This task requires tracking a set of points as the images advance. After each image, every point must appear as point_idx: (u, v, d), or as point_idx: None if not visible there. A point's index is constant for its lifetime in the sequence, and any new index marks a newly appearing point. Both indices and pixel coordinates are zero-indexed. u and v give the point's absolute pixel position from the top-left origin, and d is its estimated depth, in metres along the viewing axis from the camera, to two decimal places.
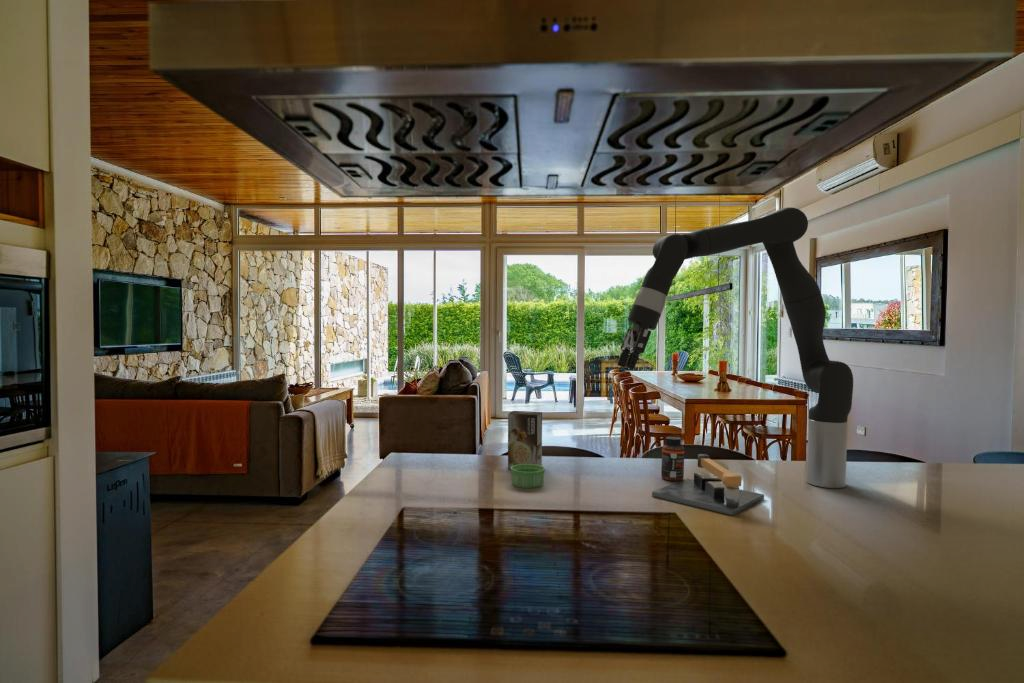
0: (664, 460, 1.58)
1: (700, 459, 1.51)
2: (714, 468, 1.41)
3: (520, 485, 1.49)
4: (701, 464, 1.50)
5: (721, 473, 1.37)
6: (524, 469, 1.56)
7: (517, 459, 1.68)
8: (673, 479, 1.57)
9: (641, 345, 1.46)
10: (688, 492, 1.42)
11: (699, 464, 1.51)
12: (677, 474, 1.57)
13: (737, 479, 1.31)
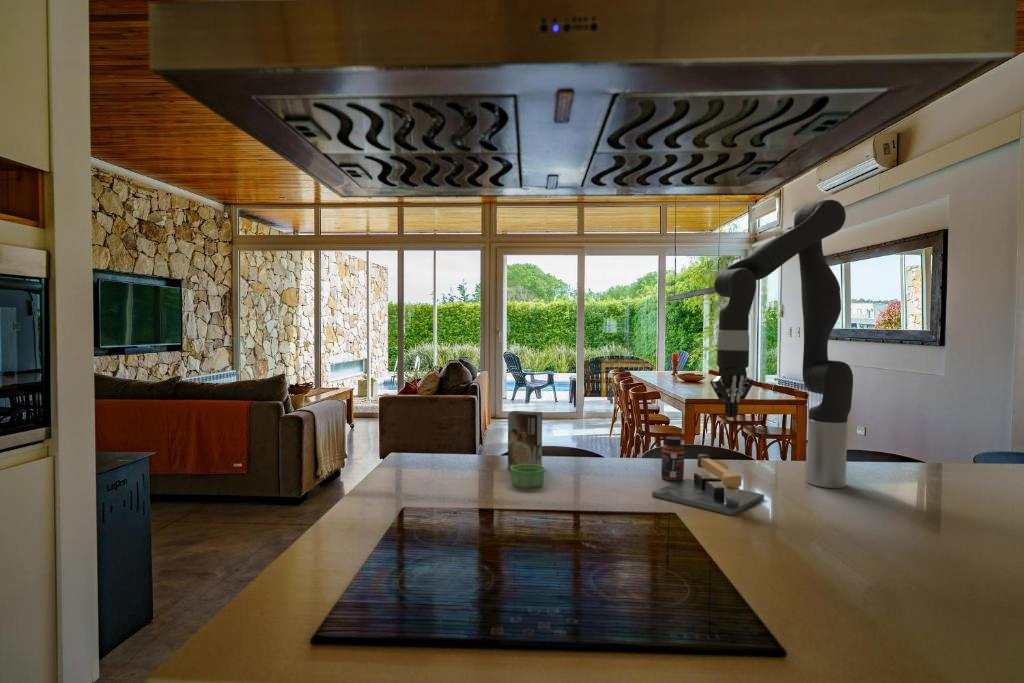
0: (664, 460, 1.58)
1: (700, 459, 1.51)
2: (714, 468, 1.41)
3: (520, 485, 1.49)
4: (701, 464, 1.50)
5: (721, 473, 1.37)
6: (524, 469, 1.56)
7: (517, 459, 1.68)
8: (673, 479, 1.57)
9: (729, 392, 1.46)
10: (688, 492, 1.42)
11: (699, 464, 1.51)
12: (677, 474, 1.57)
13: (737, 479, 1.31)
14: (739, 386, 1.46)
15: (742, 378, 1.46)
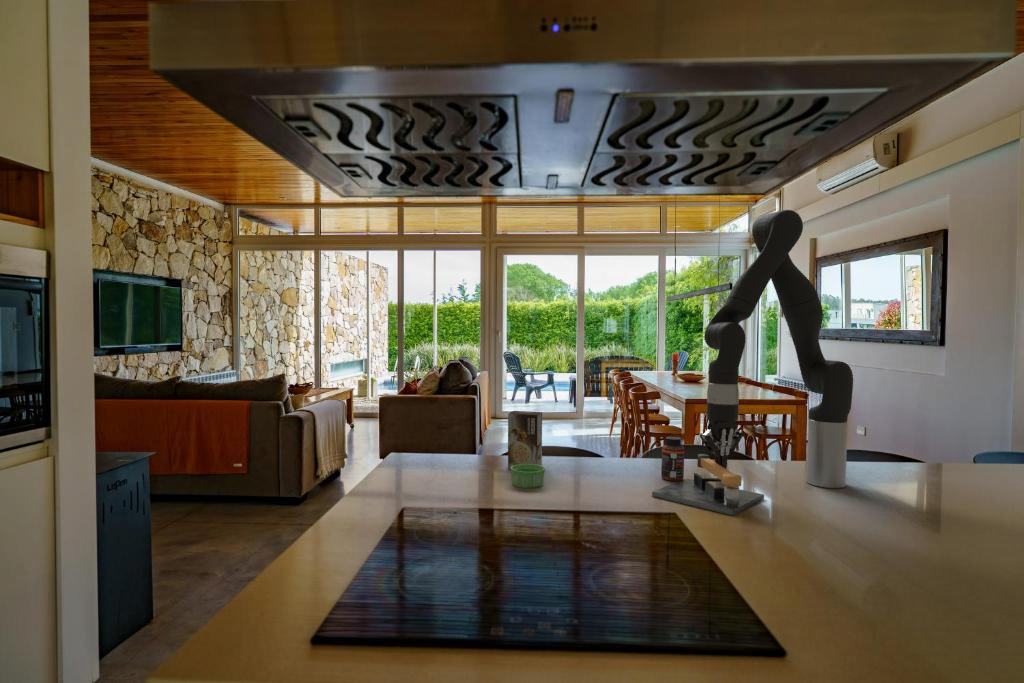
0: (664, 460, 1.58)
1: (700, 459, 1.51)
2: (714, 468, 1.41)
3: (520, 484, 1.49)
4: (701, 464, 1.50)
5: (721, 473, 1.37)
6: (524, 469, 1.56)
7: (517, 459, 1.68)
8: (673, 479, 1.57)
9: (719, 445, 1.46)
10: (688, 492, 1.42)
11: (699, 464, 1.51)
12: (677, 474, 1.57)
13: (737, 479, 1.31)
14: (728, 439, 1.46)
15: (732, 431, 1.46)
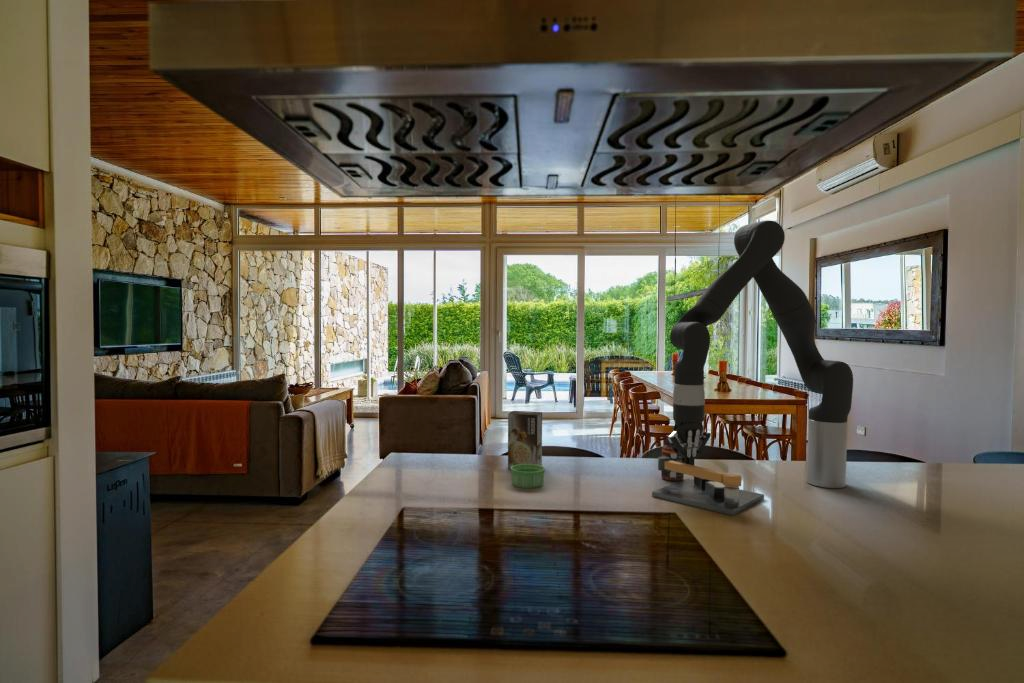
0: None
1: (664, 462, 1.47)
2: (697, 470, 1.39)
3: (520, 485, 1.49)
4: (666, 467, 1.46)
5: (714, 474, 1.35)
6: (524, 469, 1.56)
7: (517, 459, 1.68)
8: (673, 479, 1.57)
9: (686, 446, 1.44)
10: (688, 492, 1.42)
11: (662, 467, 1.47)
12: (677, 474, 1.57)
13: (740, 478, 1.32)
14: (695, 440, 1.45)
15: (698, 432, 1.45)
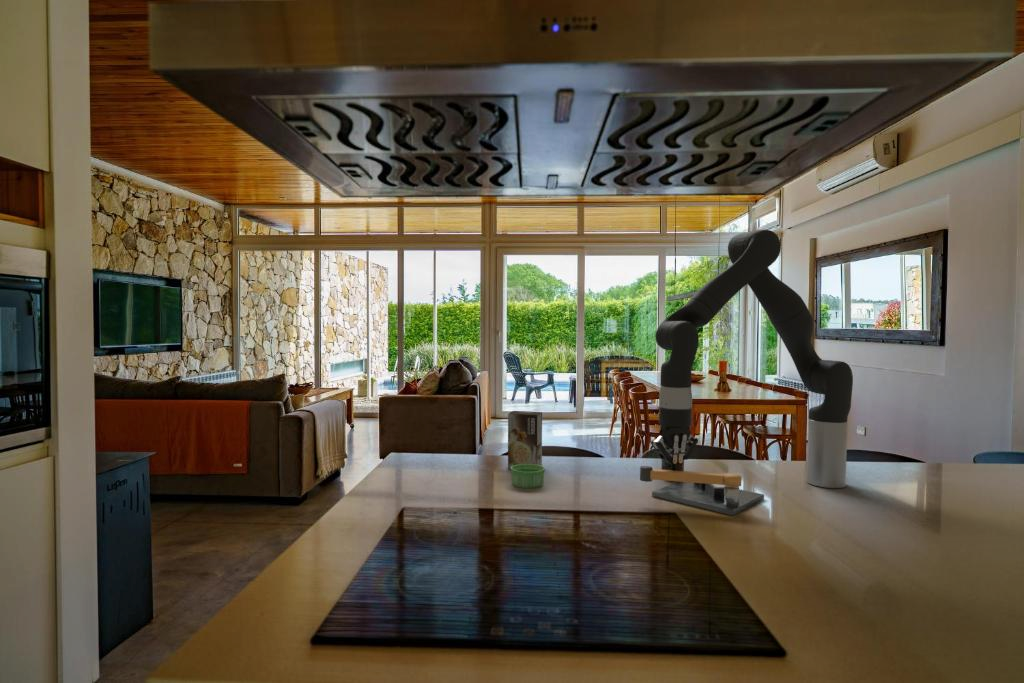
0: (664, 460, 1.58)
1: (650, 472, 1.36)
2: (694, 475, 1.34)
3: (520, 485, 1.49)
4: (653, 477, 1.36)
5: (715, 477, 1.33)
6: (524, 469, 1.56)
7: (517, 459, 1.68)
8: None
9: (672, 452, 1.37)
10: (688, 492, 1.42)
11: (648, 478, 1.36)
12: None
13: None
14: (682, 446, 1.37)
15: (685, 437, 1.37)
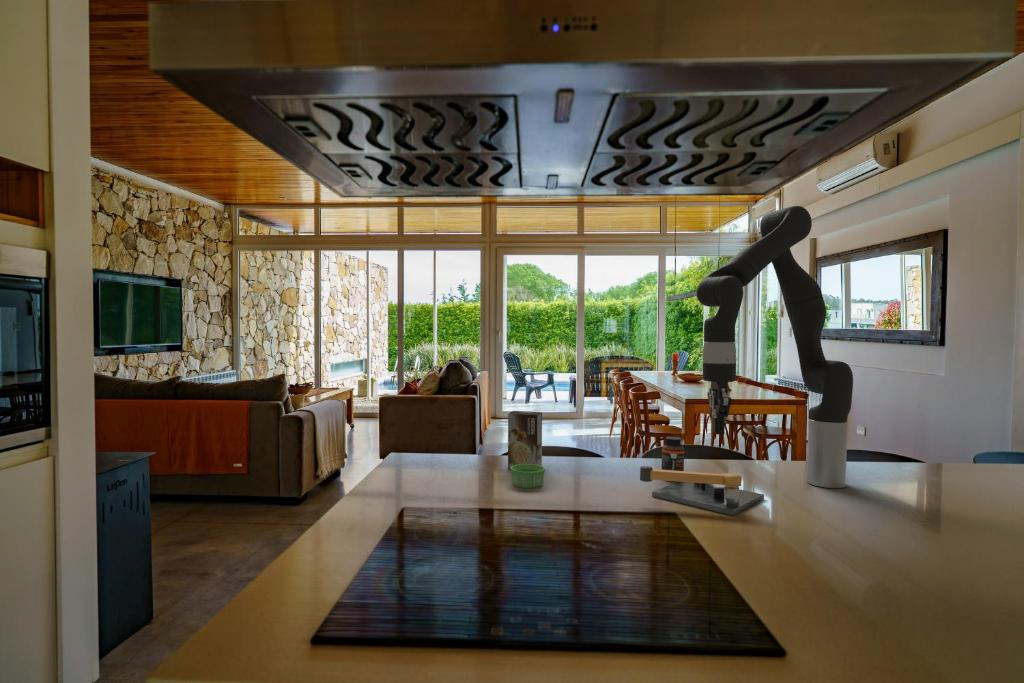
0: (664, 460, 1.58)
1: (650, 472, 1.36)
2: (694, 475, 1.34)
3: (520, 485, 1.49)
4: (653, 477, 1.36)
5: (715, 477, 1.33)
6: (524, 469, 1.56)
7: (517, 459, 1.68)
8: None
9: None
10: (688, 492, 1.42)
11: (648, 478, 1.36)
12: None
13: None
14: None
15: None
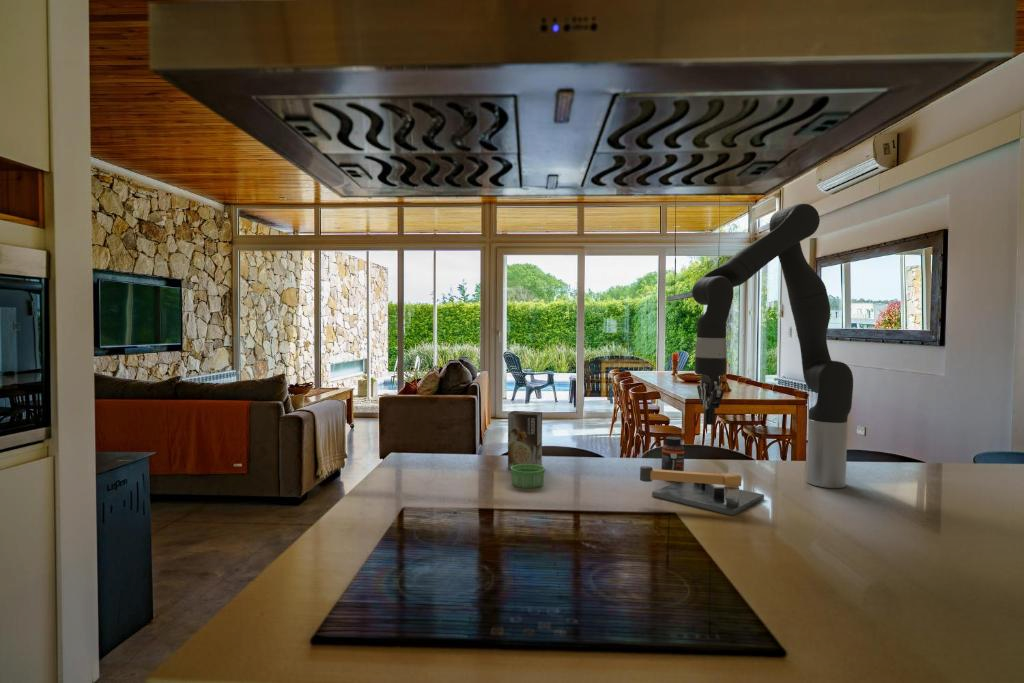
0: (664, 460, 1.58)
1: (650, 472, 1.36)
2: (694, 475, 1.34)
3: (520, 485, 1.49)
4: (653, 477, 1.36)
5: (715, 477, 1.33)
6: (524, 469, 1.56)
7: (517, 459, 1.68)
8: None
9: None
10: (688, 492, 1.42)
11: (648, 478, 1.36)
12: None
13: None
14: None
15: None
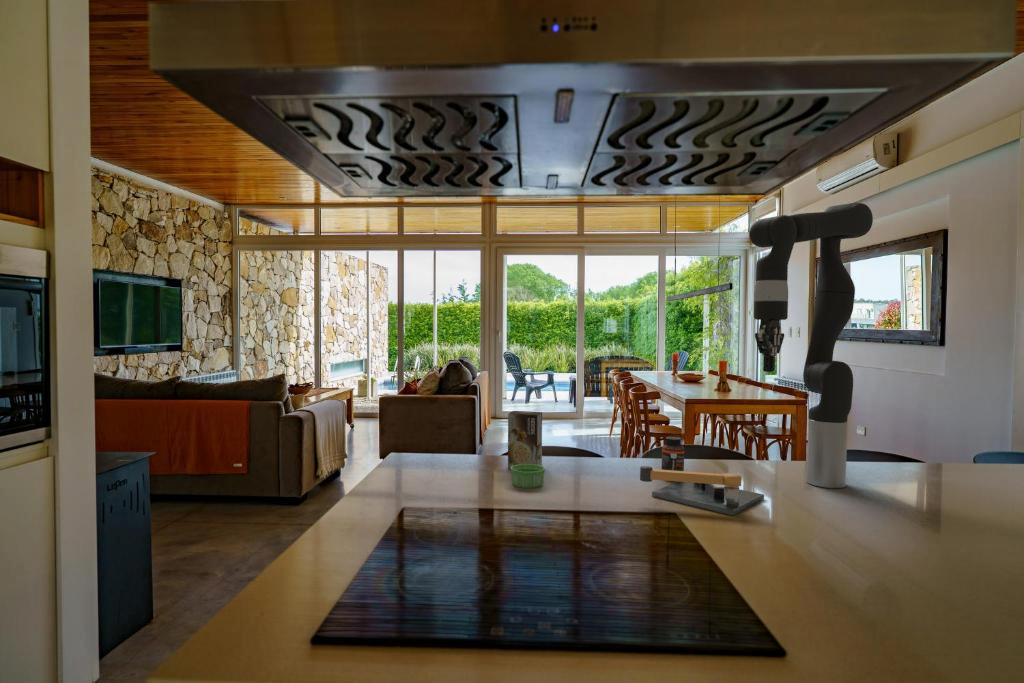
0: (664, 460, 1.58)
1: (650, 472, 1.36)
2: (694, 475, 1.34)
3: (520, 485, 1.49)
4: (653, 477, 1.36)
5: (715, 477, 1.33)
6: (524, 469, 1.56)
7: (517, 459, 1.68)
8: None
9: (771, 345, 1.40)
10: (688, 492, 1.42)
11: (648, 478, 1.36)
12: None
13: None
14: (778, 339, 1.41)
15: (780, 331, 1.41)
